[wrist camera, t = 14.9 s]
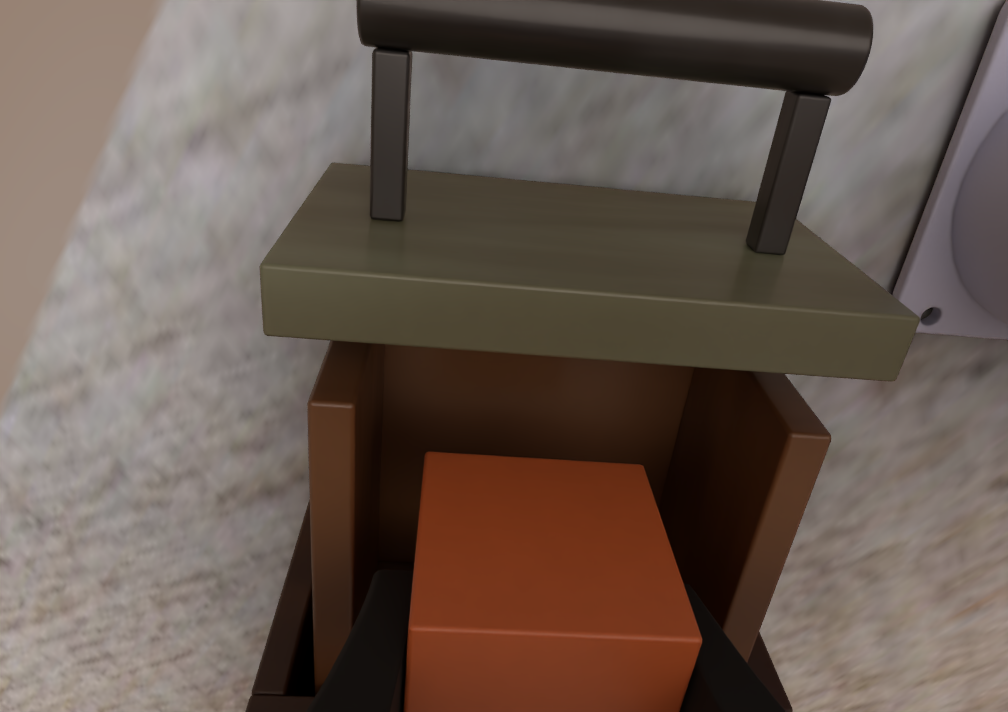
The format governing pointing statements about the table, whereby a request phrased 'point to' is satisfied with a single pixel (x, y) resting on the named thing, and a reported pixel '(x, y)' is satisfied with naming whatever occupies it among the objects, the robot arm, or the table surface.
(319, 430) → the drawer
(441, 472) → the block
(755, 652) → the cabinet
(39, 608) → the table surface
